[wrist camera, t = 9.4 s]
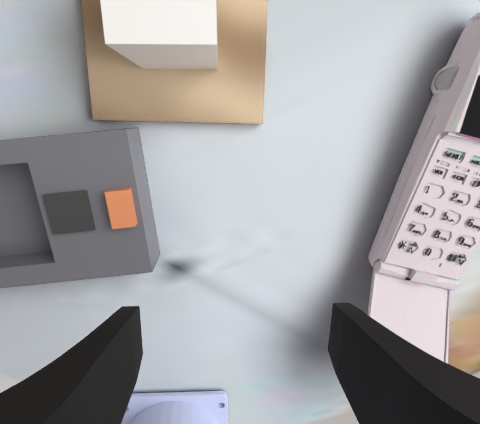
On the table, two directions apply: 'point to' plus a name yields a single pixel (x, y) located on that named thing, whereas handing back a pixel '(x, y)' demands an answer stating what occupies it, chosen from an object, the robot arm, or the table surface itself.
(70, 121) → the table surface
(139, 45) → the white rectangular block
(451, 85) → the mobile phone
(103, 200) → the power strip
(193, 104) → the cork coaster
